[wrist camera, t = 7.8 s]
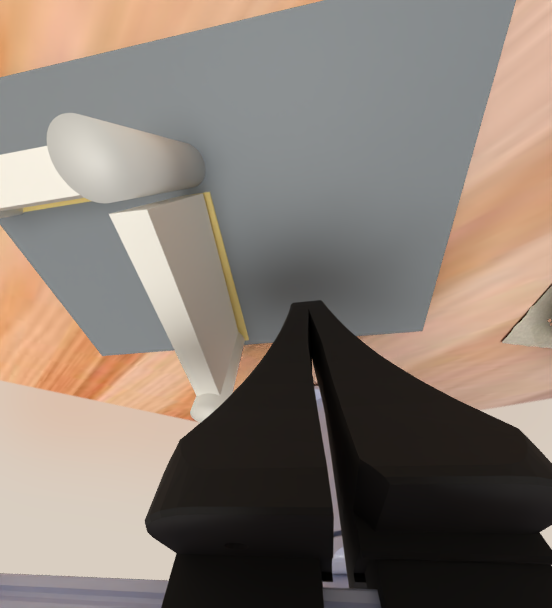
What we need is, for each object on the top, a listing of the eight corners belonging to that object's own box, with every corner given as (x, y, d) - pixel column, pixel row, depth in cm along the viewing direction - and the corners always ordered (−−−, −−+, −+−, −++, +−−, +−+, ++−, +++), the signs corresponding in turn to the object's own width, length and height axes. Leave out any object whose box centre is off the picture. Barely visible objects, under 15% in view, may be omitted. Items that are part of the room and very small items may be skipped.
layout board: (419, 327, 15) (423, 331, 15) (105, 352, 18) (101, 356, 17) (518, -39, 7) (533, -52, 7) (-83, 103, 10) (-101, 99, 9)
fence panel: (173, 197, 11) (83, 219, 6) (208, 192, 10) (145, 211, 6) (222, 349, 16) (196, 425, 11) (246, 348, 16) (229, 424, 11)
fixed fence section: (198, 139, 10) (101, 105, 5) (210, 184, 11) (140, 197, 6) (-24, 179, 11) (-294, 188, 6) (4, 217, 12) (-207, 253, 7)
